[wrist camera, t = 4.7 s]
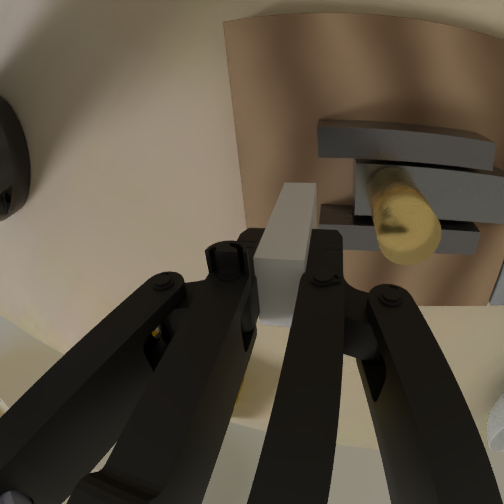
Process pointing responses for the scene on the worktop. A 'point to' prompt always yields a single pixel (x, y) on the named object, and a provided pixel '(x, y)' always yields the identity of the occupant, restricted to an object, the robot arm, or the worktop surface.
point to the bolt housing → (400, 149)
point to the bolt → (422, 202)
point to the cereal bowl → (496, 426)
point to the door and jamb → (364, 108)
